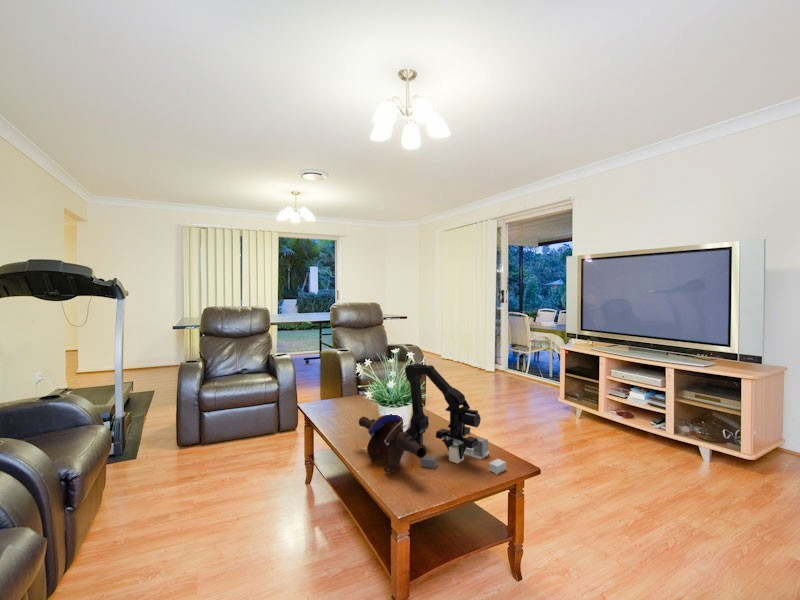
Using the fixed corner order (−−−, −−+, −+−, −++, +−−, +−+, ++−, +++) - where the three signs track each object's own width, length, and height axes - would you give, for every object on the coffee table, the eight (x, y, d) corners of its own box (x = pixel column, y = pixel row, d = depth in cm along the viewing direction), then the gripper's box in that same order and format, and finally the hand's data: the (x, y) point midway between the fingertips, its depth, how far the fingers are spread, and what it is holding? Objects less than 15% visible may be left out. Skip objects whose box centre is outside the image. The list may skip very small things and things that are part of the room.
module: (457, 463, 164) (457, 449, 164) (448, 460, 167) (448, 446, 167) (464, 459, 168) (464, 445, 168) (455, 456, 171) (455, 443, 171)
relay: (434, 469, 160) (434, 461, 160) (420, 467, 162) (420, 459, 161) (436, 465, 164) (436, 456, 163) (423, 463, 165) (423, 455, 165)
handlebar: (349, 451, 177) (349, 408, 177) (372, 444, 185) (372, 403, 184) (409, 491, 142) (409, 438, 141) (435, 481, 150) (435, 430, 149)
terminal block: (496, 475, 154) (496, 466, 154) (488, 471, 158) (489, 462, 157) (505, 470, 158) (506, 462, 158) (497, 467, 161) (498, 458, 161)
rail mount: (481, 459, 168) (481, 443, 168) (449, 448, 179) (449, 433, 179) (489, 454, 173) (489, 438, 173) (457, 444, 184) (457, 429, 184)
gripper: (484, 422, 167) (484, 457, 167) (449, 412, 179) (449, 445, 180) (471, 429, 159) (471, 466, 159) (434, 419, 171) (435, 453, 171)
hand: (456, 457), depth 168 cm, fingers closed on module, 4 cm apart
